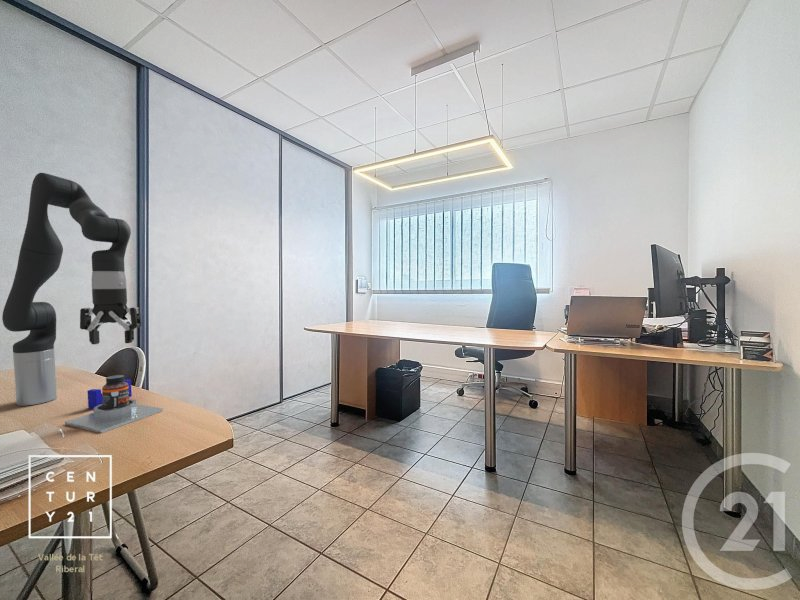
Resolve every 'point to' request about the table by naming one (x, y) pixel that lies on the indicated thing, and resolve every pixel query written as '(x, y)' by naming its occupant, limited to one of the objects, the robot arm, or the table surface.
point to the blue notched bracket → (100, 396)
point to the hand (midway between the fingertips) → (112, 343)
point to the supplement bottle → (115, 392)
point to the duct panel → (114, 423)
